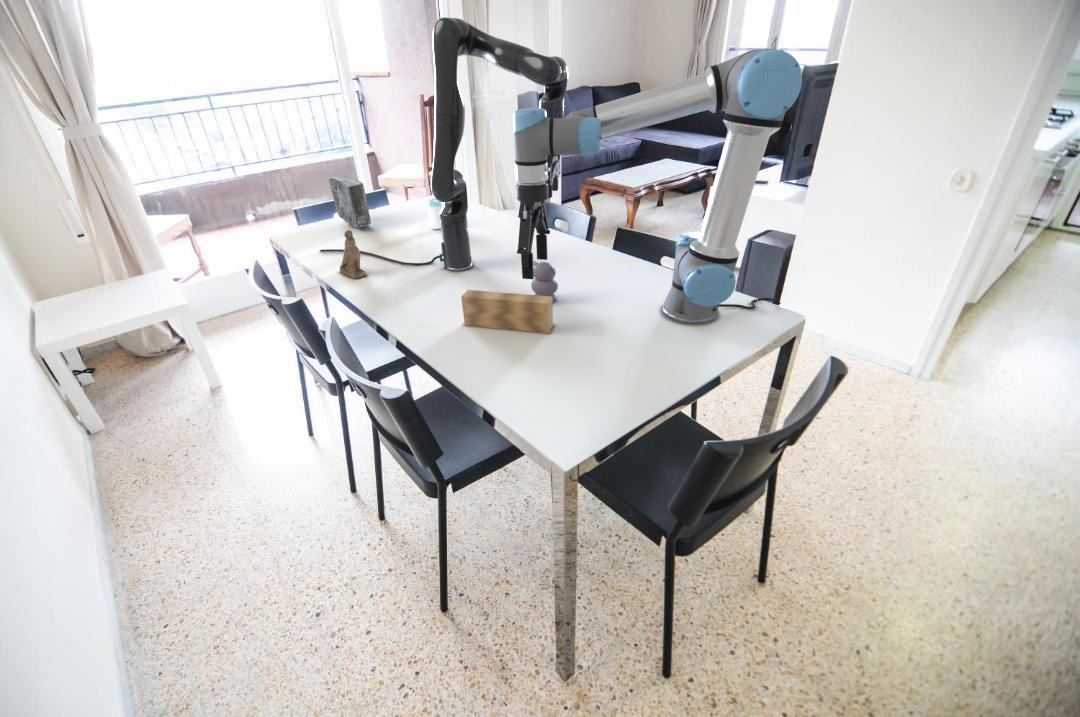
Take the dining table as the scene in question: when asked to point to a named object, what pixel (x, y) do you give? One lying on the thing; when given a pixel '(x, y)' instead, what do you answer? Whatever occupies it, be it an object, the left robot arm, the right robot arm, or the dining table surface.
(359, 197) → the concrete block
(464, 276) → the dining table surface
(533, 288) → the cat figurine
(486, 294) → the bar
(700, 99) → the right robot arm
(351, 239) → the worn brown figurine
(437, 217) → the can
